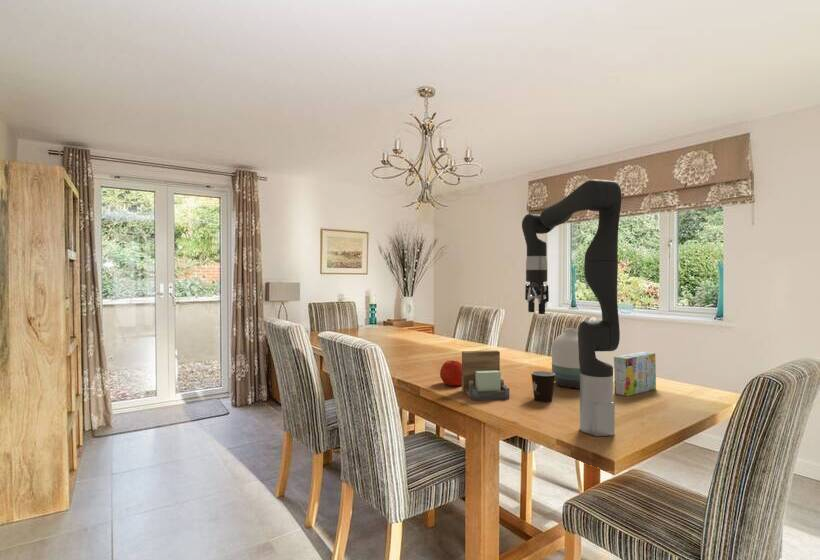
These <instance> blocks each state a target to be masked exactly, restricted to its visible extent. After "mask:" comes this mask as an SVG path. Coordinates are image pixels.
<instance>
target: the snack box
mask: <svg viewBox="0 0 820 560" xmlns="http://www.w3.org/2000/svg"><path fill="white" fill-rule="evenodd" d="M613 361H614V362H613V364H614V365H613V366H614V367H613V380H614V394H615V395H618V396H619V395H620V396H624V397H629V396H632V395H636V394H641V393H645V392H649V391H652V390H656V389H657V379H656V378H657V376H656V373H657V371H656V368H657V367H656V352H651V351H639V352H634V353H628V354H623V355H617V356H614V357H613Z"/></svg>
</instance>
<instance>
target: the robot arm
mask: <svg viewBox="0 0 820 560" xmlns="http://www.w3.org/2000/svg"><path fill="white" fill-rule="evenodd" d="M622 197H623V196H622V188H621V186H620V185H619V183H618V182H616V181H614V180H608V179H607V180H606V179H597V178H596V179H594V178H593V179H589V180H587V181H585V182H584V183H582V184H580V185H579V186H578V187H576V189H574V190H573V191H572V192H570V193H569V194H568V195H567V196H565V198H562V199H561V200H560V201H558V202H556V203H554V204H552V205H550V206H549V207H546V208H545V209H543V210H542V211H541V213H540V214H538V213H529V214H526V215H525V216H523V218H522V221H521V229H522V233H523V236H524V240H525V245H526V260H525V281H526V282H528V283H529V284H528V283H527V284H525V287H524V288H525V296H524V297H525V298H524V299H525V301H527V304H528V305H527V311H528V313H535V306H536V305H535V301H536V299H537V302H538V309H537V310H538V315H545V314H546V304H547V303H549V299H550V298H549V296H550V294H549V293H550V291H549V285H548V284H544V283H547V281H548V258H547V257H548V255H547V254H548V253H547V251H548V250H547V248H548V247H547V242H546V241H545V240H543V239H541V238H539V237H538V235H537V234H540V235H542V234H543V235H544V234H548V233H550V232H551V231H552V230H554V228H555V227H558V226H560V225H562V224H564V223H566V222H568V221H569V220H570V219H572V217H573V215H574V214H575V213H577V212H581V211H590V212H598V226H597V230H596V232H595V235H594V237H592V239H591V241H590V243H589V245H588V247H587V249H586V251H585V254H584V272H583V273H584V274H583V275H584V279H585V281H586V283H587V285H588V286H589V288H590V290H591V292H592V293H593V294H594V296H595V298H596V299H597V301H598V303H599V306H600V310H601V320H583V321H581V322H580V323H579V325H578V328H577V329H578V348H579V364H580V388H579V430H580V431H581V432H583V433H585V434H588V435H592V436H594V437H605V436H606V437H607V436H615V433H616V432H615V428H616V427H615V425H616V421H615V419H616V418H615V417H616V416H615V415H616V413H615V411H616V410H615V409H616V407H615V403H614V367H613V365H611V364H610V363H608V362H604V361H602V360H600V359H598V358H597V355H596V352H614V351H616V350H617V349H618V347H619V345H620V337H621V333H620V321H619V305H618V277H619V276H618V275H619V273H618V272H619V262H618V260H619V255H618V251H619V249H618V248H619V247H618V246H619V243H618V242H619V225H620V218H621V217H620V216H621V209H622V208H621V207H622Z"/></svg>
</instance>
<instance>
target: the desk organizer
mask: <svg viewBox="0 0 820 560" xmlns="http://www.w3.org/2000/svg"><path fill="white" fill-rule="evenodd" d="M500 354H501V353H500V351H499V350H497V349H496V350H469V351H468V350H467V351H466V350H464V351H461V364H462V385H461V391H462V392H463V393H465V394H466V395H467V396H468V397H469V398H471V400H472V401H491V400H509V399H510V387H508V386H507V385H505V379H504V378H501V391H481V392H478V389H476V371H496V370H498V371H500V370H501V369H500V368H501V367H500V366H501V365H500V364H501V363H500V360H501V359H500V357H501V356H500ZM500 372H501V371H500Z"/></svg>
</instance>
